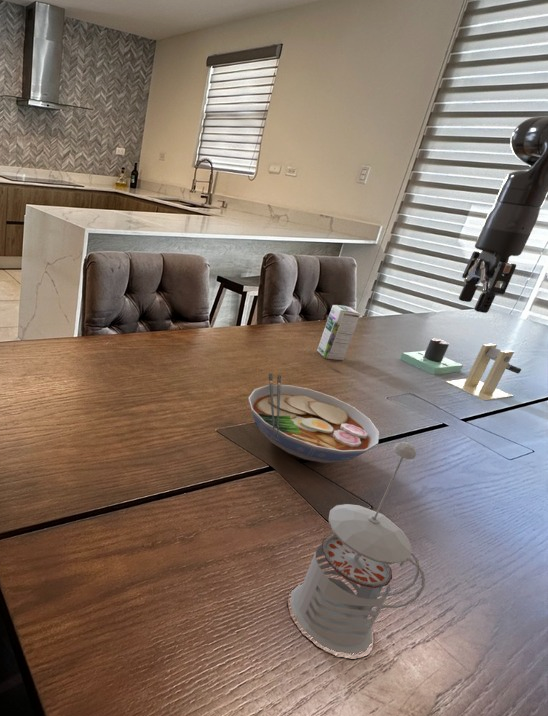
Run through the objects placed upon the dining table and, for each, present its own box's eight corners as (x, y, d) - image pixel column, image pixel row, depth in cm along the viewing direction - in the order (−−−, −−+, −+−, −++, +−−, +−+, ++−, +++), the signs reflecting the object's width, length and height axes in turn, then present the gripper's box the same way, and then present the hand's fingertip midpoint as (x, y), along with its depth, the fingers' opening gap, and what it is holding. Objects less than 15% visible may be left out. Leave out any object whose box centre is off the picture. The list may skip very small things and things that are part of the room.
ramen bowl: (377, 508, 75) (395, 467, 72) (233, 464, 82) (244, 425, 79) (356, 431, 97) (369, 397, 94) (244, 402, 104) (253, 368, 101)
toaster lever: (496, 367, 127) (502, 360, 127) (517, 375, 123) (523, 368, 123) (479, 352, 121) (485, 344, 121) (500, 360, 117) (507, 352, 117)
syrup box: (316, 350, 139) (331, 304, 133) (335, 352, 139) (351, 306, 133) (324, 358, 133) (340, 310, 128) (344, 361, 134) (361, 313, 128)
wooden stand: (471, 381, 130) (491, 339, 125) (511, 399, 122) (534, 355, 117) (443, 385, 126) (463, 341, 121) (482, 404, 117) (506, 357, 112)
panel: (425, 359, 142) (429, 350, 141) (458, 374, 134) (463, 364, 133) (398, 362, 138) (402, 352, 137) (431, 377, 130) (436, 367, 128)
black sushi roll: (430, 355, 137) (438, 336, 135) (445, 361, 134) (453, 343, 132) (420, 355, 136) (428, 337, 134) (435, 362, 132) (443, 343, 130)
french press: (283, 572, 61) (345, 408, 52) (380, 603, 59) (464, 435, 49) (289, 641, 53) (364, 458, 43) (403, 680, 50) (511, 495, 40)
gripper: (549, 236, 85) (508, 319, 91) (512, 227, 98) (478, 301, 104) (501, 229, 87) (464, 311, 93) (471, 221, 100) (440, 294, 106)
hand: (471, 306), depth 99 cm, fingers open, 8 cm apart
